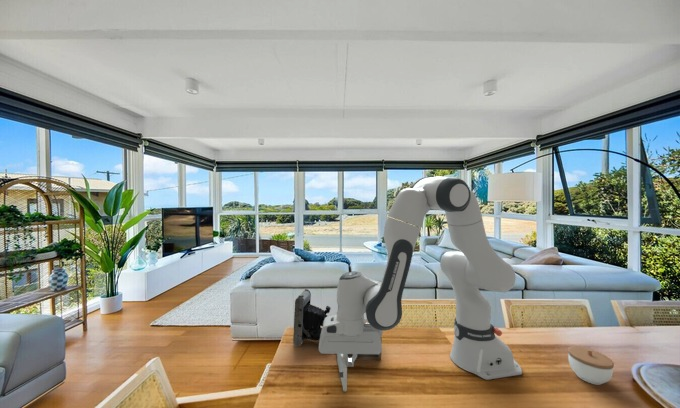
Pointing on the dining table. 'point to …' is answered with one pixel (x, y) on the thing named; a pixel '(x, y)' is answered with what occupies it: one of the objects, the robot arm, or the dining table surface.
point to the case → (367, 356)
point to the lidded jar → (590, 365)
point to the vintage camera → (307, 319)
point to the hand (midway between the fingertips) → (349, 365)
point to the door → (342, 370)
